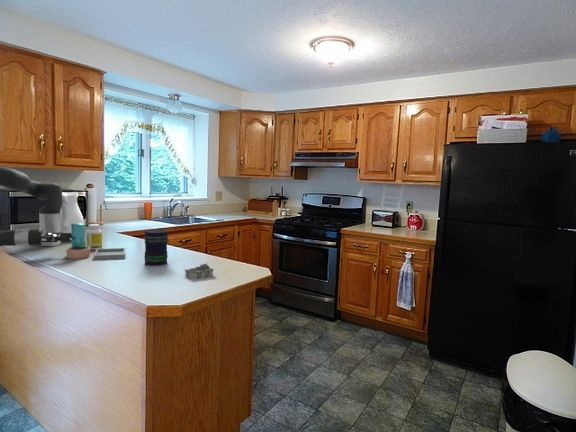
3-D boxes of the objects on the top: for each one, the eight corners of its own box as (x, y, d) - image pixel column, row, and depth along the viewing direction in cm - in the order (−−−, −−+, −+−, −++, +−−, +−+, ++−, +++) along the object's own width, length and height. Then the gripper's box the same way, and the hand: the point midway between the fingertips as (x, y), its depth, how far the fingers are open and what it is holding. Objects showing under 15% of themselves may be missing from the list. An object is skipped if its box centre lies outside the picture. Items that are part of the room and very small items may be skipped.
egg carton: (207, 272, 147) (207, 263, 146) (215, 276, 141) (215, 267, 140) (183, 275, 140) (183, 265, 140) (190, 280, 134) (190, 269, 134)
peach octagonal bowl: (68, 254, 165) (68, 246, 165) (91, 253, 169) (90, 245, 169) (65, 259, 157) (65, 250, 156) (88, 258, 161) (88, 249, 160)
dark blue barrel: (159, 266, 151) (160, 233, 150) (139, 264, 153) (139, 231, 152) (171, 262, 161) (172, 230, 159) (152, 260, 163) (152, 228, 161)
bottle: (72, 254, 164) (72, 223, 163) (86, 253, 167) (85, 223, 165) (70, 256, 159) (70, 224, 158) (84, 256, 162) (84, 224, 160)
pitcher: (53, 237, 208) (52, 191, 206) (85, 236, 215) (85, 192, 213) (44, 244, 187) (43, 193, 184) (80, 243, 194) (80, 194, 191)
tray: (96, 252, 172) (96, 248, 172) (125, 251, 178) (125, 248, 178) (93, 259, 158) (93, 255, 158) (124, 258, 163) (124, 254, 163)
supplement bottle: (104, 248, 185) (104, 224, 183) (96, 250, 178) (96, 225, 176) (92, 247, 185) (92, 223, 184) (83, 249, 178) (83, 225, 177)
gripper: (24, 231, 147) (68, 230, 154) (33, 227, 160) (73, 226, 167) (24, 248, 148) (69, 247, 155) (33, 242, 161) (73, 241, 168)
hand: (71, 236), depth 161 cm, fingers open, 8 cm apart
